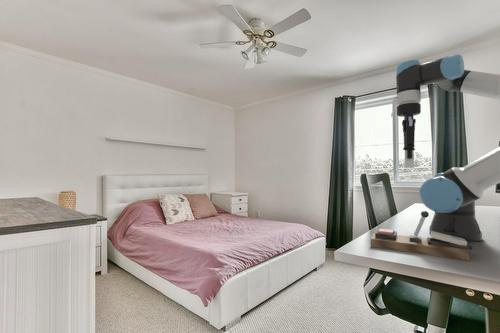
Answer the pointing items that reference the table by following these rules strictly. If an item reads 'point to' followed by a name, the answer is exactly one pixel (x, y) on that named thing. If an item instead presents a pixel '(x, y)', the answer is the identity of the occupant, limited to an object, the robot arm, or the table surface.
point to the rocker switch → (448, 238)
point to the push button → (386, 231)
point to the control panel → (421, 245)
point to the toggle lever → (421, 222)
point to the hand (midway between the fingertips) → (409, 167)
